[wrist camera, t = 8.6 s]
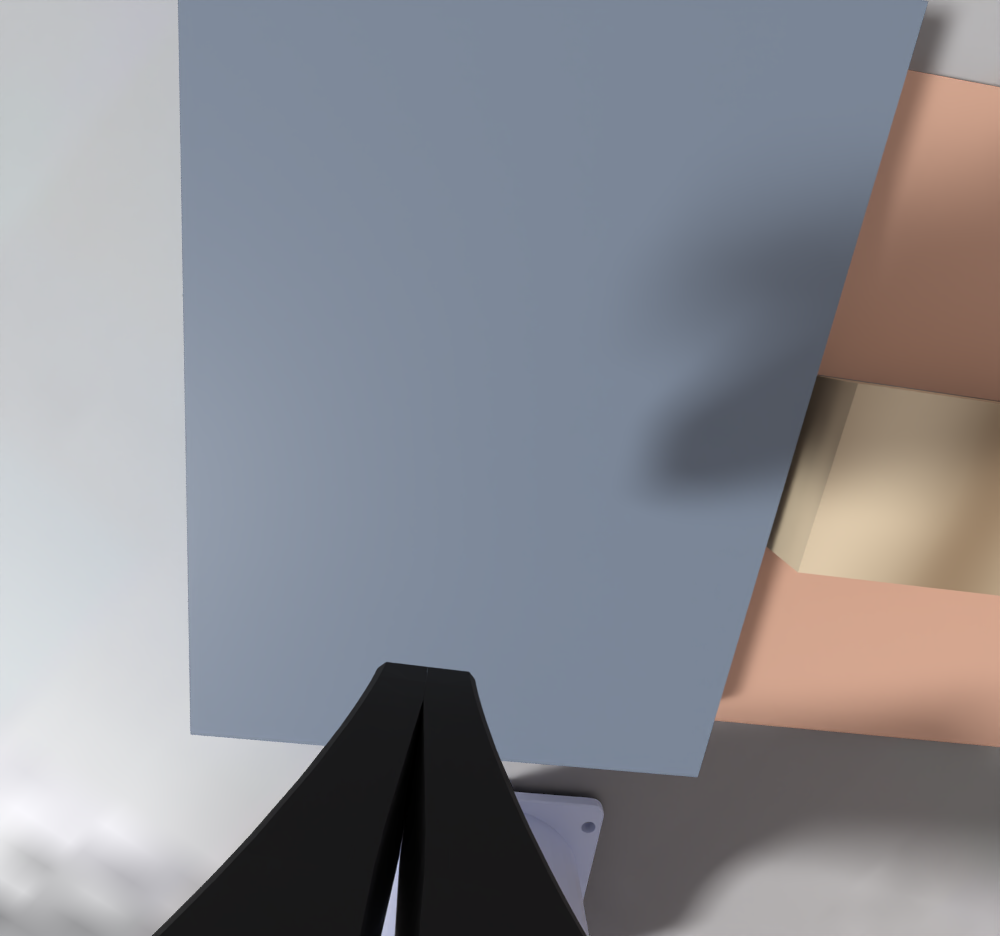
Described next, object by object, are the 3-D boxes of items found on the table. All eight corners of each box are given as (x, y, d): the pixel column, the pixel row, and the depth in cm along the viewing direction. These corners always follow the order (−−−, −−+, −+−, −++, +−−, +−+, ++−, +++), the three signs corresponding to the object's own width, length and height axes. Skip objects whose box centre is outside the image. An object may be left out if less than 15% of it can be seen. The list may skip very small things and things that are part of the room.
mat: (1035, 743, 21) (1046, 751, 20) (678, 709, 19) (682, 717, 19) (1326, 157, 15) (1348, 153, 15) (854, 68, 14) (864, 61, 14)
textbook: (665, 708, 19) (697, 777, 17) (235, 667, 18) (190, 734, 15) (836, 65, 14) (928, 1, 11) (243, -48, 13) (175, -151, 10)
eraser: (1100, 415, 17) (1230, 437, 14) (1033, 563, 18) (1140, 611, 15) (789, 370, 16) (857, 383, 13) (744, 528, 17) (798, 572, 14)
